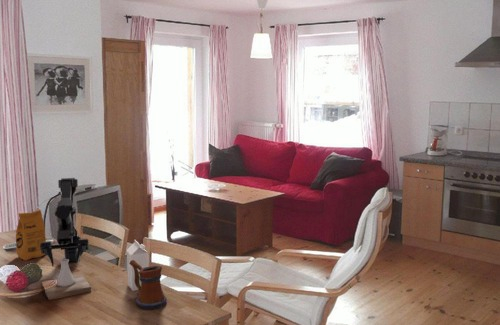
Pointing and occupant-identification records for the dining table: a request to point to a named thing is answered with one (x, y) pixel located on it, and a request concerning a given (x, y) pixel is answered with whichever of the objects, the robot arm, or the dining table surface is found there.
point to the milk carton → (140, 257)
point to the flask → (65, 275)
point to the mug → (149, 286)
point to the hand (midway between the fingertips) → (64, 265)
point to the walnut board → (69, 288)
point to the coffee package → (30, 235)
